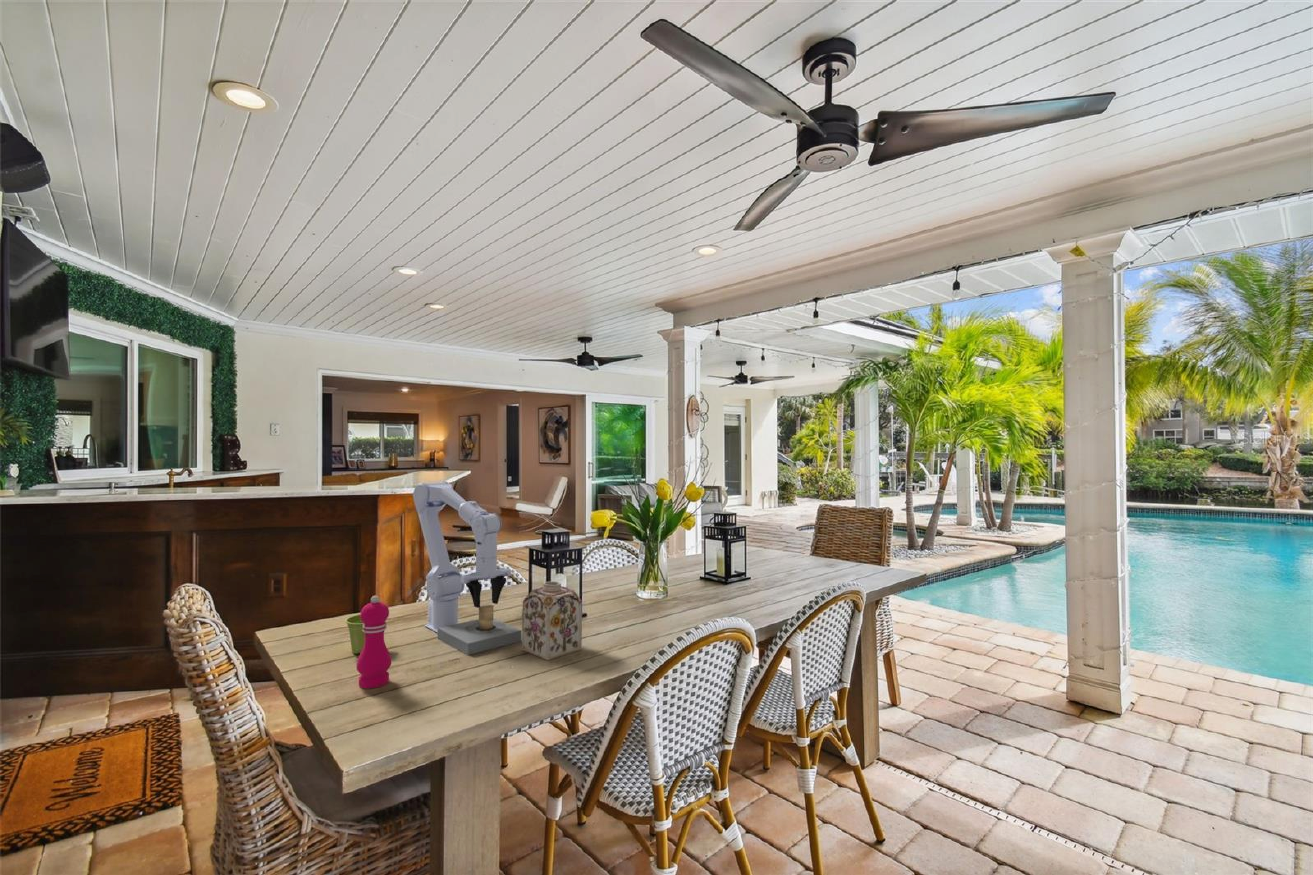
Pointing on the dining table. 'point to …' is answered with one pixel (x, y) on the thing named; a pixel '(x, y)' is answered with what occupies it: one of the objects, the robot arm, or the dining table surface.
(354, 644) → the plant pot
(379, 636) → the pepper mill
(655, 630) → the dining table surface
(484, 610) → the oak peg
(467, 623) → the grey peg hole board
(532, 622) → the decorative jar
